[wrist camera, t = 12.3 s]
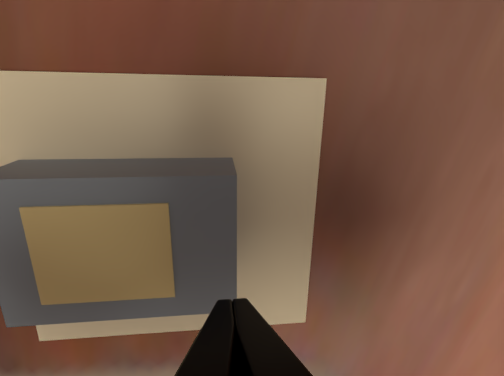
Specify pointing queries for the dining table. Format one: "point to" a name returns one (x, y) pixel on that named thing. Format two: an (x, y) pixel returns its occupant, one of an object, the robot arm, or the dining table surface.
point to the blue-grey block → (116, 238)
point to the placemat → (189, 146)
